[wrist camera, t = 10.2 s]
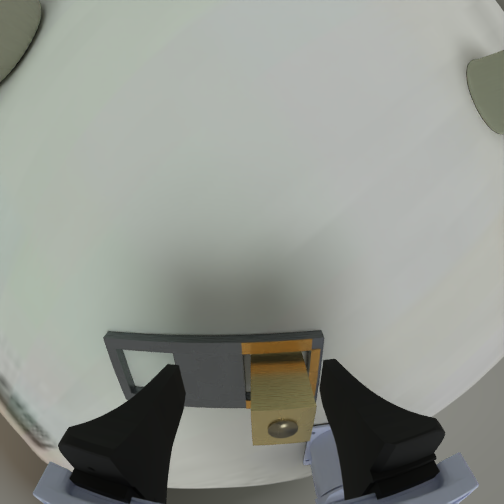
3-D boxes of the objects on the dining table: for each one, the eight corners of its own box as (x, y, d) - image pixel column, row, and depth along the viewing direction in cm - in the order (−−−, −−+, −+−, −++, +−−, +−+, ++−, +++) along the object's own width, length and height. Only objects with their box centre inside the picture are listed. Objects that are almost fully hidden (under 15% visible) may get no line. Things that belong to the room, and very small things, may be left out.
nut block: (297, 383, 24) (310, 443, 17) (252, 386, 24) (252, 447, 17) (300, 348, 23) (317, 408, 16) (250, 350, 23) (250, 413, 16)
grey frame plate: (313, 395, 25) (316, 403, 24) (129, 392, 25) (125, 400, 24) (320, 330, 23) (324, 338, 21) (108, 331, 23) (102, 338, 22)
